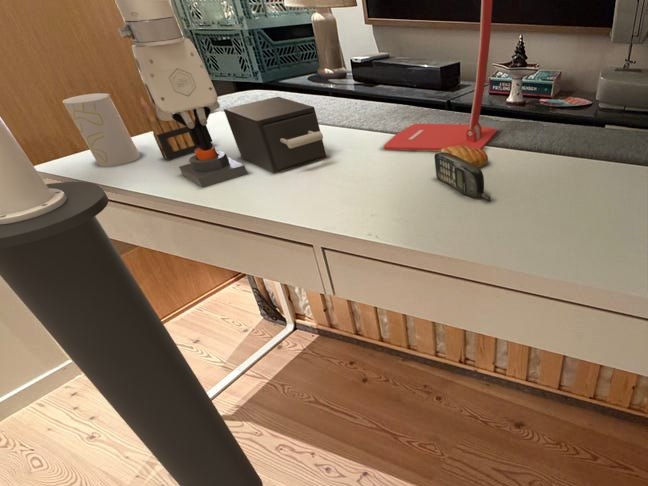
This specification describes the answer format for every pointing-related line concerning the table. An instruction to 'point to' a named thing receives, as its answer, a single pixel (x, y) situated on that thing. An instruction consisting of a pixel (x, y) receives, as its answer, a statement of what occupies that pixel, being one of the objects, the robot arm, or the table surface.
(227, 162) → the control block
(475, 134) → the desk lamp
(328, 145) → the table surface
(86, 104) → the white patterned cylinder
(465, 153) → the pastry
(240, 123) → the cabinet
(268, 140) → the drawer
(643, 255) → the table surface
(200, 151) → the button
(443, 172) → the mobile phone
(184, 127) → the ammunition clip
